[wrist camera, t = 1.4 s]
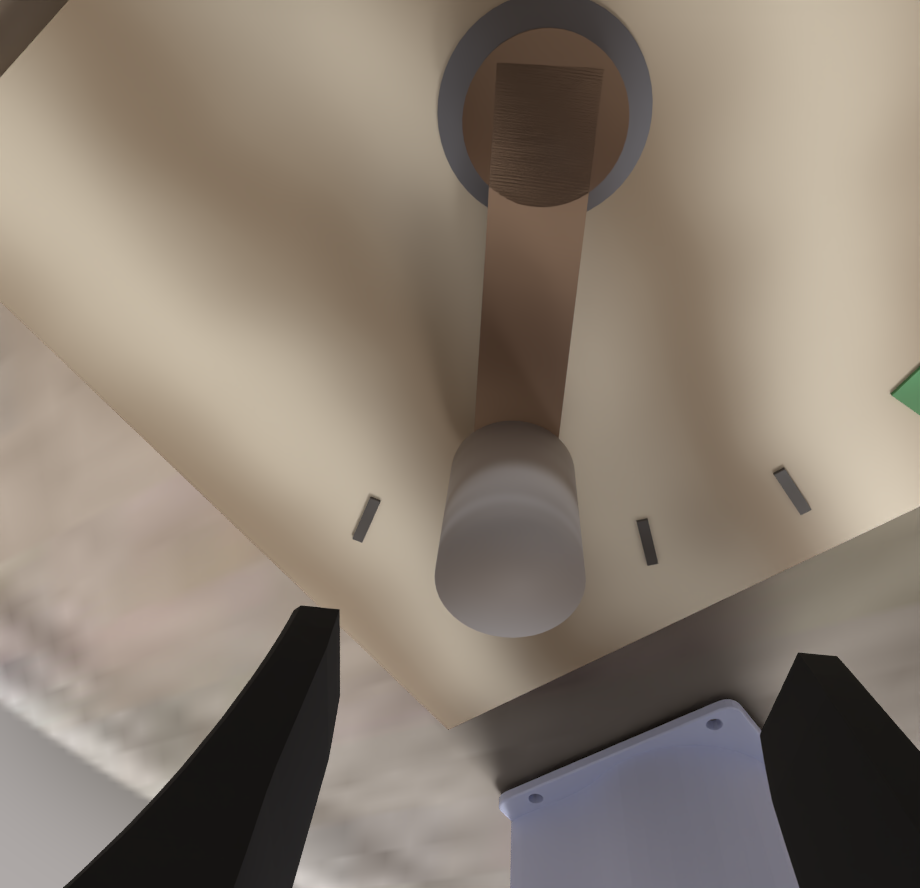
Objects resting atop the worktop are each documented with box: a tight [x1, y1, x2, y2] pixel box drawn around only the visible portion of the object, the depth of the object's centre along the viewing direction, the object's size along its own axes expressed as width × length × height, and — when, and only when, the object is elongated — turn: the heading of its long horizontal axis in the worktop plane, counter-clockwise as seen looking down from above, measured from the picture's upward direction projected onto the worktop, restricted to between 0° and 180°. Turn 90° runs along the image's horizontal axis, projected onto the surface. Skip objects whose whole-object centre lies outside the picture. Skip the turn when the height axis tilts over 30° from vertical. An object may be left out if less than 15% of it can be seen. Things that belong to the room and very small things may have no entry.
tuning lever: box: [435, 27, 629, 638], centre depth 16 cm, size 14×3×5 cm, turn 177°
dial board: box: [0, 0, 920, 730], centre depth 18 cm, size 26×21×1 cm
